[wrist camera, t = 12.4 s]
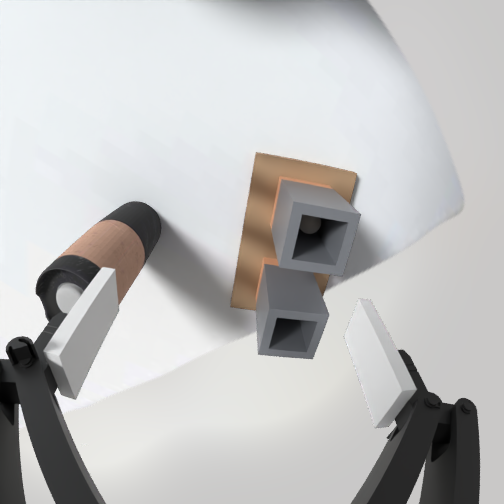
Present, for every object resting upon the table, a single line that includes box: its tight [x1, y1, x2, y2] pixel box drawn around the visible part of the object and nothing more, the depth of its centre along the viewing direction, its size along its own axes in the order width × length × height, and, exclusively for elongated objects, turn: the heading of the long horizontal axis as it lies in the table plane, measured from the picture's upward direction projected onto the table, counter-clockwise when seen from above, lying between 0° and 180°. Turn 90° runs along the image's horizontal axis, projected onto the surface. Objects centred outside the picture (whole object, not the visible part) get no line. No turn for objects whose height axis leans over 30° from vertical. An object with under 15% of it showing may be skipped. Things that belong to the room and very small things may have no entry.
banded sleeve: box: [255, 257, 329, 359], centre depth 38 cm, size 6×6×12 cm
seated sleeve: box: [270, 176, 361, 276], centre depth 34 cm, size 6×6×12 cm
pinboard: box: [231, 152, 357, 310], centre depth 39 cm, size 22×13×8 cm, turn 171°
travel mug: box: [36, 202, 161, 321], centre depth 32 cm, size 8×8×20 cm
